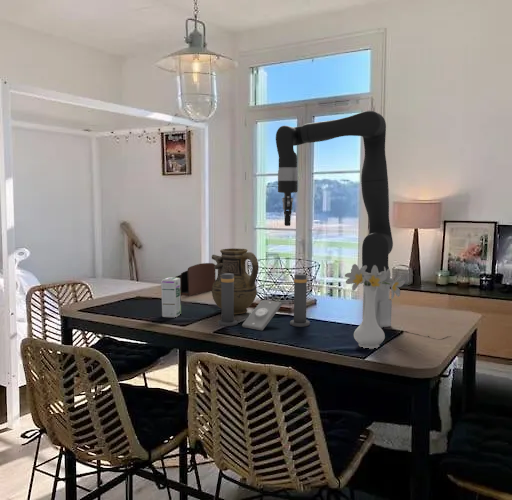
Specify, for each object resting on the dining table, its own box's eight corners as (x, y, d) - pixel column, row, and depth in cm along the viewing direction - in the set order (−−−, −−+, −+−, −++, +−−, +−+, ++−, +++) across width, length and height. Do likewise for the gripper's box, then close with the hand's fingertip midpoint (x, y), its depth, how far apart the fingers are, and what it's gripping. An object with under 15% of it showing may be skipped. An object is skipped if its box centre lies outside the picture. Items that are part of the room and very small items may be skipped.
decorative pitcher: (269, 312, 211) (270, 249, 209) (243, 320, 197) (243, 253, 194) (226, 305, 224) (226, 246, 221) (199, 313, 209) (198, 249, 207)
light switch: (240, 322, 186) (261, 297, 196) (245, 335, 189) (265, 310, 199) (260, 326, 182) (280, 300, 191) (265, 339, 184) (284, 313, 194)
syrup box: (176, 317, 201) (175, 279, 199) (161, 317, 202) (161, 279, 201) (181, 314, 206) (181, 277, 205) (167, 313, 208) (166, 276, 206)
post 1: (241, 324, 191) (241, 274, 189) (224, 327, 187) (224, 276, 185) (230, 320, 197) (230, 272, 195) (214, 323, 192) (214, 273, 191)
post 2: (313, 325, 190) (314, 275, 189) (298, 327, 186) (299, 276, 185) (301, 321, 196) (301, 272, 194) (286, 323, 192) (286, 274, 190)
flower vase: (395, 356, 153) (397, 270, 151) (335, 347, 162) (336, 265, 160) (407, 345, 164) (410, 265, 162) (350, 337, 174) (352, 261, 171)
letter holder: (216, 290, 262) (215, 261, 260) (189, 296, 245) (188, 265, 244) (200, 288, 267) (200, 260, 266) (173, 293, 251) (172, 264, 250)
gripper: (299, 179, 195) (298, 226, 197) (296, 180, 208) (296, 224, 210) (278, 179, 195) (278, 226, 197) (277, 180, 208) (276, 224, 210)
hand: (287, 225), depth 204 cm, fingers closed
